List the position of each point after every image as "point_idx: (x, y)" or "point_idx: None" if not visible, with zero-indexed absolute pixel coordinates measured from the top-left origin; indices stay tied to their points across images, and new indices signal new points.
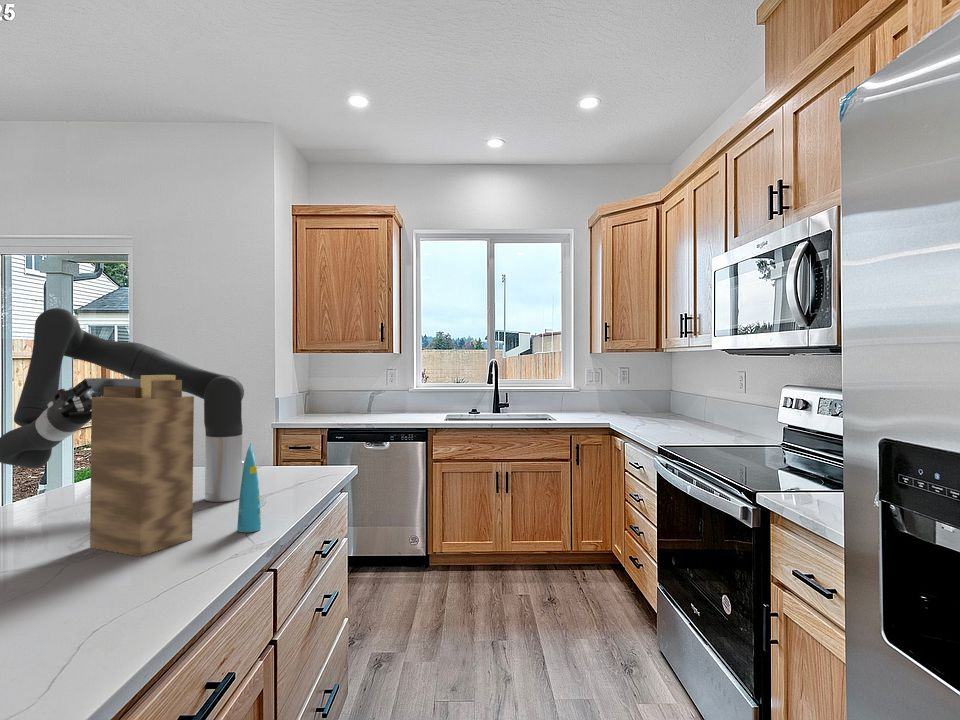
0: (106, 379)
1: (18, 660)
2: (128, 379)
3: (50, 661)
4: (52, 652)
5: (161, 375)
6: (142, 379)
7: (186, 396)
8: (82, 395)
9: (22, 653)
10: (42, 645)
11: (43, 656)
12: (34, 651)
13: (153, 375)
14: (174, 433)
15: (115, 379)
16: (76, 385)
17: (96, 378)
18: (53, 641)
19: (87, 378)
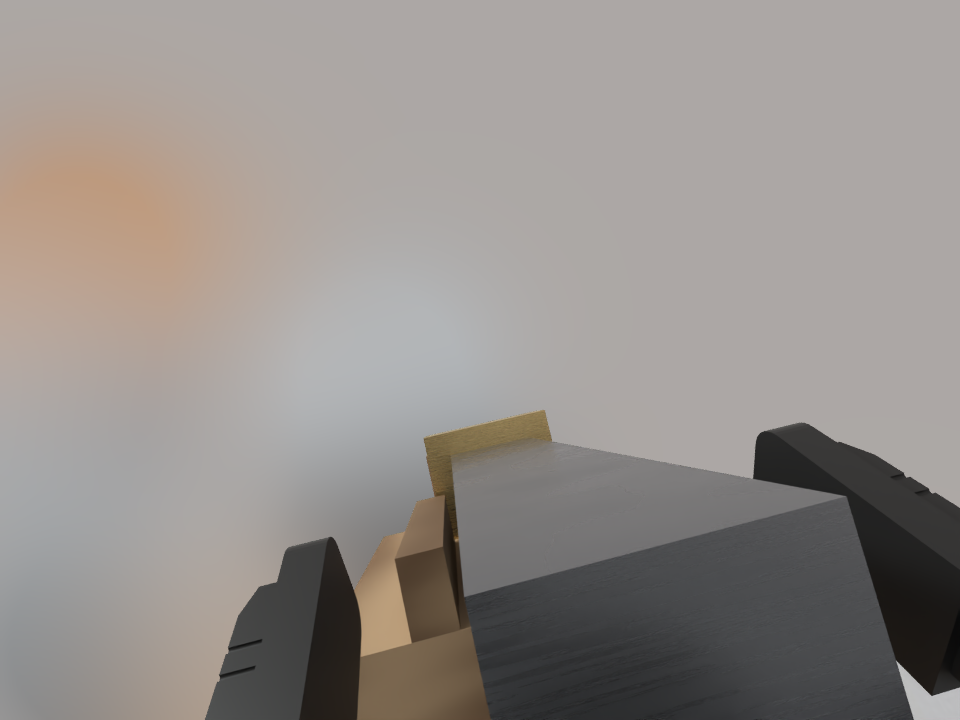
0: (608, 455)
1: (951, 692)
2: (523, 451)
3: (901, 675)
4: (906, 690)
5: (490, 421)
6: (546, 427)
7: (401, 536)
8: (911, 673)
9: (954, 704)
10: (930, 711)
11: (916, 687)
12: (936, 702)
13: (517, 415)
14: None
15: (577, 446)
16: (938, 497)
17: (623, 510)
18: (916, 713)
19: (780, 507)
